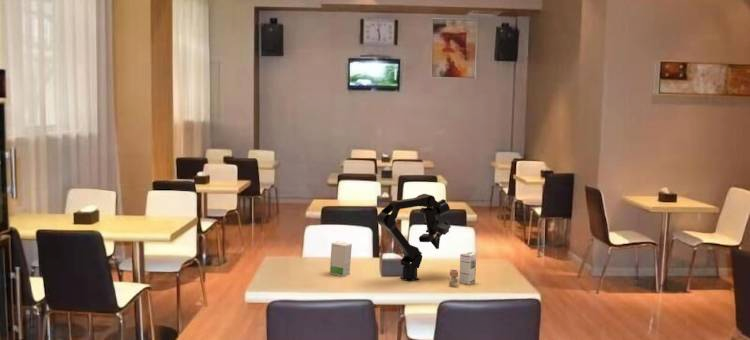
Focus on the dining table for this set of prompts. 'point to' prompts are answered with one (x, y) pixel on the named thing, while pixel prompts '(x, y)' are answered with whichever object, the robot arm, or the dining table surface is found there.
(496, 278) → the dining table surface
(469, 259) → the syrup box
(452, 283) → the beech block
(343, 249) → the skincare box
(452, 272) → the terracotta block
